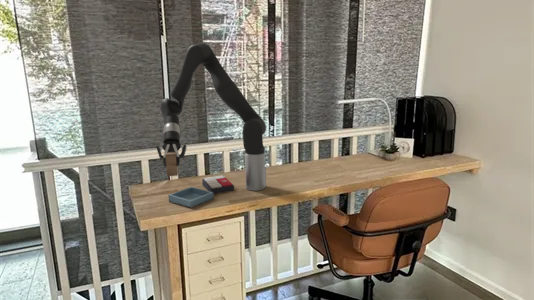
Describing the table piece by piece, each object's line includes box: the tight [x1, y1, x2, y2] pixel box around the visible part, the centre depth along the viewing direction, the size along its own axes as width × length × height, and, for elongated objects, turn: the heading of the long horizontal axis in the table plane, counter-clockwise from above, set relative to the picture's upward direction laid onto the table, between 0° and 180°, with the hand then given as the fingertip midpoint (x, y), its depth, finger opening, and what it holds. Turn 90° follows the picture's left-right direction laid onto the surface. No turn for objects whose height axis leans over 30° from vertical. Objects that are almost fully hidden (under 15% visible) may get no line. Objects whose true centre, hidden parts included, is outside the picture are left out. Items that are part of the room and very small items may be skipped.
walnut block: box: [165, 152, 179, 177], centre depth 180 cm, size 4×4×10 cm
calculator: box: [201, 175, 235, 195], centre depth 189 cm, size 11×4×15 cm
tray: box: [168, 186, 214, 208], centre depth 173 cm, size 14×14×3 cm
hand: (171, 165), depth 178 cm, fingers closed on walnut block, 4 cm apart
